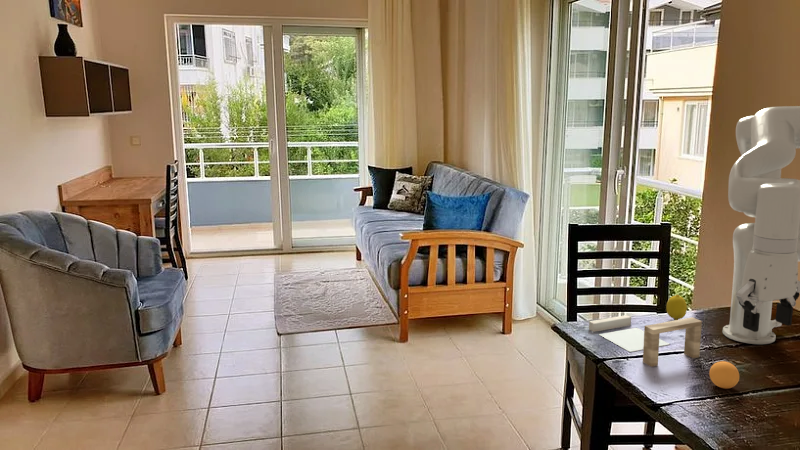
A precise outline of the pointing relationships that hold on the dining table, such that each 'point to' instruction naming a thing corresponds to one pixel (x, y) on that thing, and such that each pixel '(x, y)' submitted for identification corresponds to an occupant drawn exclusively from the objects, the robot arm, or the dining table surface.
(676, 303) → the lemon
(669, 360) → the dining table surface
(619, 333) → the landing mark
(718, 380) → the ball
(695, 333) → the bridge
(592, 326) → the wall
